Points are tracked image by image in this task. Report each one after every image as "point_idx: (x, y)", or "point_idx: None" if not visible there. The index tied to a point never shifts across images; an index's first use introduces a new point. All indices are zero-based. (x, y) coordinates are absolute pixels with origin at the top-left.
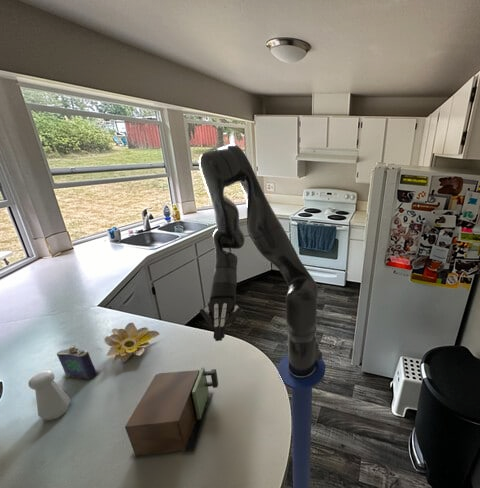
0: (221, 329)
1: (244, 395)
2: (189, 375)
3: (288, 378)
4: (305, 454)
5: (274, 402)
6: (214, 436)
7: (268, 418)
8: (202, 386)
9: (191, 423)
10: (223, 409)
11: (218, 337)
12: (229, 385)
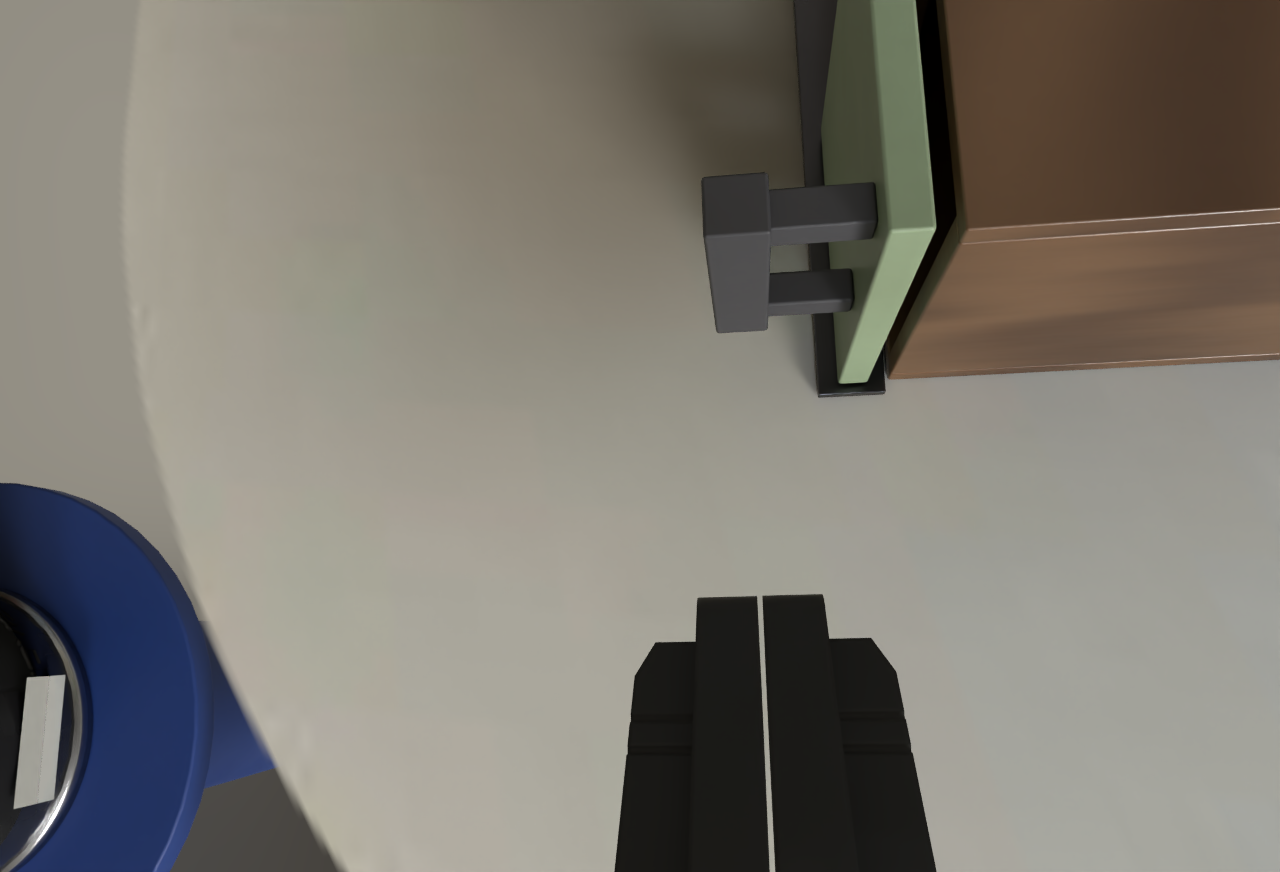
0: (690, 827)
1: (481, 365)
2: (1075, 133)
3: (105, 597)
4: None
5: (206, 282)
6: (662, 24)
7: (256, 148)
8: (853, 151)
9: None
10: (649, 235)
11: (747, 630)
12: (655, 489)
